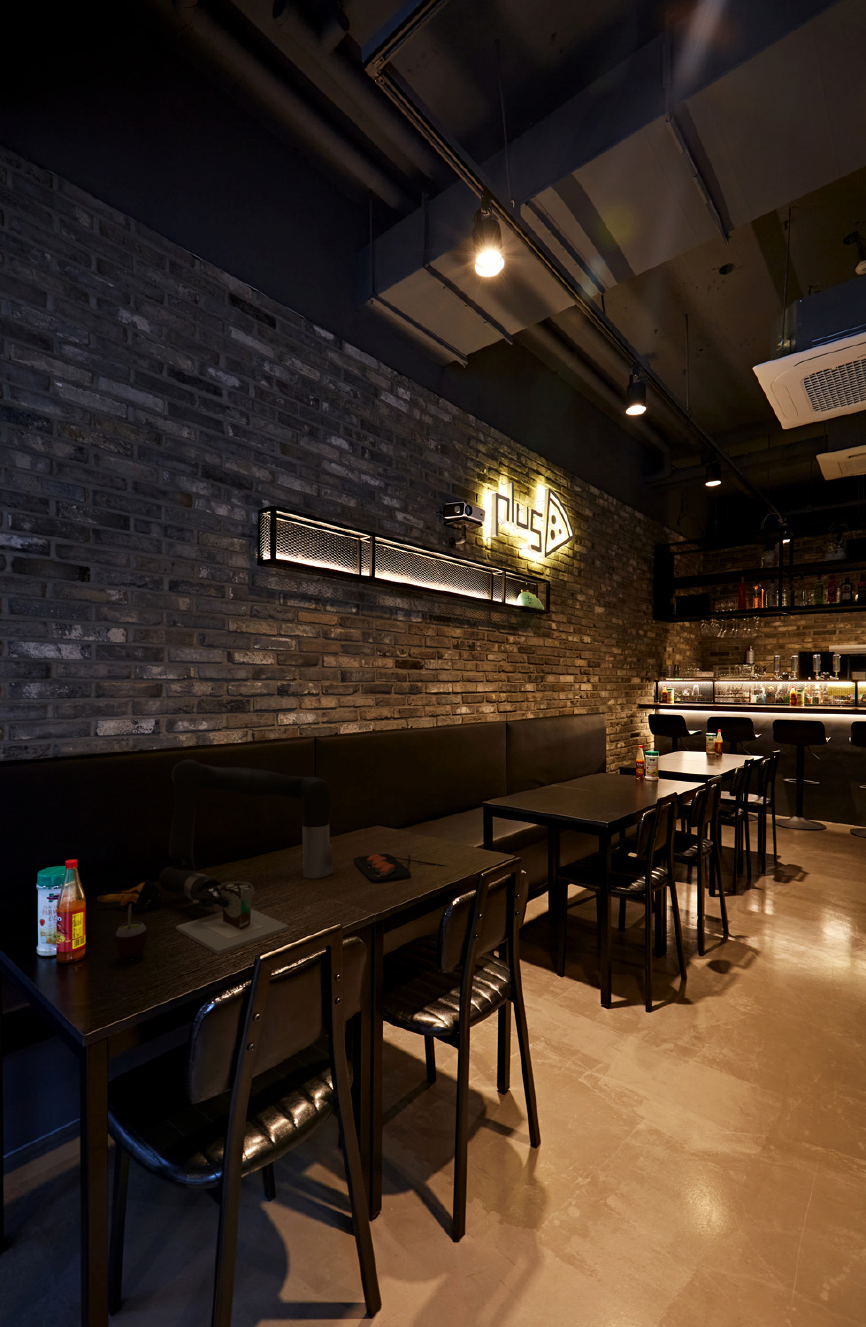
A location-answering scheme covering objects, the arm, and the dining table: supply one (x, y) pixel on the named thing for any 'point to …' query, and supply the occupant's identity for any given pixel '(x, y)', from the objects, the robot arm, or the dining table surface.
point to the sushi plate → (384, 866)
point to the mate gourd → (130, 939)
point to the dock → (230, 931)
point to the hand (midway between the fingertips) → (231, 902)
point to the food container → (237, 903)
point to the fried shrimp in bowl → (136, 897)
